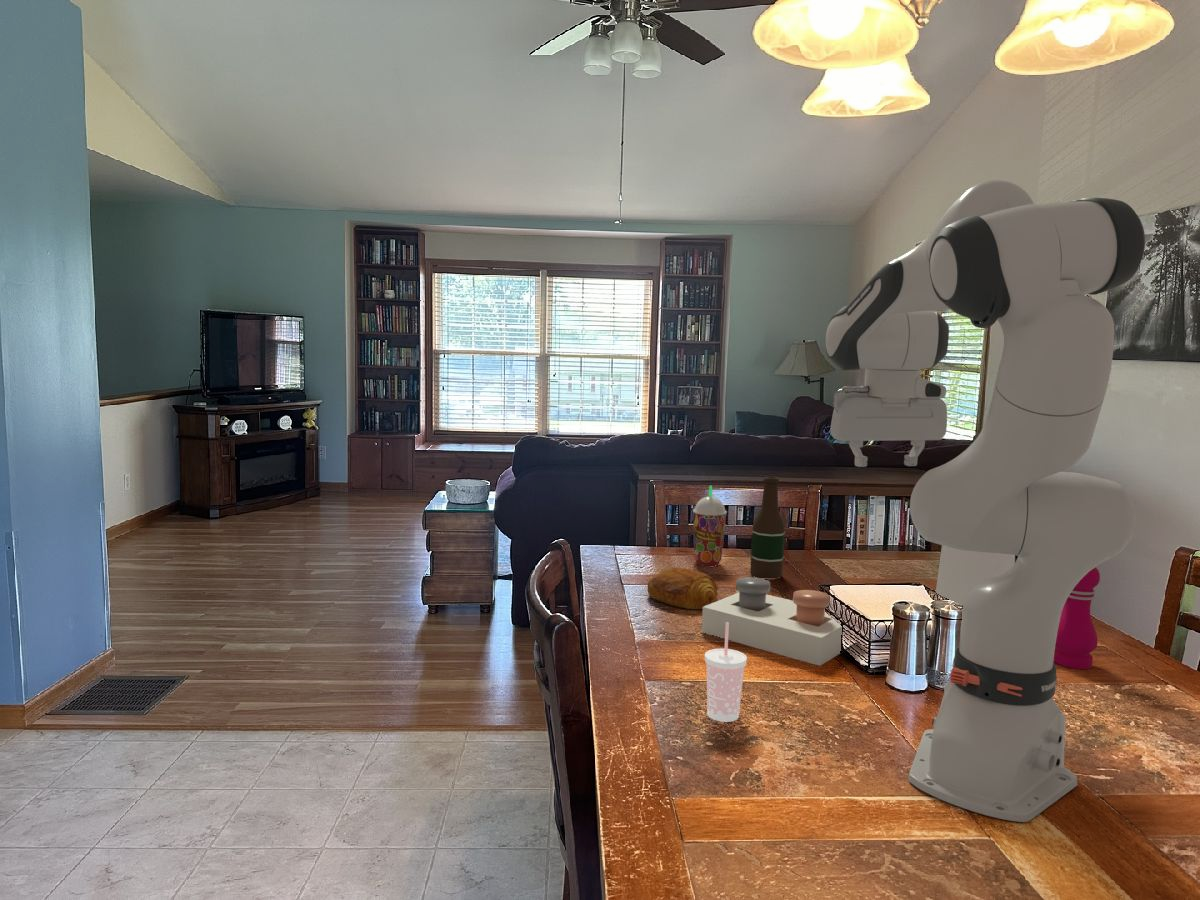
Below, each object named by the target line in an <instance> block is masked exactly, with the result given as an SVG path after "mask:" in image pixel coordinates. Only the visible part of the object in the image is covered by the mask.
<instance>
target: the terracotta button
mask: <svg viewBox="0 0 1200 900" xmlns="http://www.w3.org/2000/svg"><path fill="white" fill-rule="evenodd" d="M830 598H831V596H830V595H829V594H828V593H826V592H824V591H819V590H814V589H800V590H796V591H793V596H792V601H793V602H794V603H795V604H796V605H797V610H796V621H798V622H802V623H806V624H810V625H814V626H817V627H819V626H820V625H822V624H824V617H825V608H826V609H827V608H828V607H829V606H830V601H831V600H830Z"/></svg>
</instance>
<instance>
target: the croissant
mask: <svg viewBox="0 0 1200 900" xmlns="http://www.w3.org/2000/svg"><path fill="white" fill-rule="evenodd" d="M646 589H647V593H648V595H649V597H650V598H651V599H654V600H656V601H658V602H660V601H661V602H660V603H663V602H664V603H663V604H666V603H667V604H666V605H669V604H670V606H673V605H674V607H677V608H683V607H684V608H683V609H686V610H703V607H704V606H706V605H709V604H711V603H714V602H716V601H717V597H718V595H719V594H718V590H719V586H718V583H717V582H716V581H715V580H714V579H713V577H711V576H710V575H708V574H706V573H704V572H702V571H698V570H695V569H691V568H685V567H677V566H676V567H670V568H668V569H664V570H662V571H660V573H658V574H656V575H654V576H653V577H652V578H651V579H650V580H649V581H648V583H647V588H646Z"/></svg>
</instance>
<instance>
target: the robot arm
mask: <svg viewBox="0 0 1200 900" xmlns="http://www.w3.org/2000/svg"><path fill="white" fill-rule="evenodd" d="M1145 249H1146V236H1145V228H1144V225H1143V223H1142V221H1141V219H1140V217H1139V215H1138V214H1137V213H1136V211H1135V210H1134V208H1133V207H1131V206H1130V205H1129V204H1128V203H1127V202H1125V201H1122V200H1118V199H1113V198H1105V197H1083V198H1079V199H1075V200H1074V199H1073V200H1067V201H1058V202H1049V203H1041V204H1035V202H1033V199H1032V197H1031V196H1030V194H1029V193H1028V192H1026V190H1024V189H1023V188H1022V187H1020V186H1019V185H1018V184H1017V185H1016V184H1015V183H1013V182H1010V181H1006V180H996V179H995V180H985V181H982V182H980V183H978V184H975V185H973V186H971V187H970V188H969V189H967V190H966V191H964V193H963V194H961V196H959V197H958V198H957V199H956V200H955V201H954V202H953V203H952V205H951V206H950V207H949V208H948V209H947V210H946V211H945V212H944V214H943V215H942V216H941V218H940V219H939V220H938V222H937V223H936V225H935V226H934V228H933V229H932V230H931V232H930V234H929V235H928V236H927V237H926V238H925V239H924V240H923V241H922V242H921V243H919V244H918V245H917V246H915V247H913V248H912V249H911V250H908V252H906V253H904V254H902V255H900V256H899V257H898V258H895V259H892V260H891V261H889V262H888V263H885V264H884V265H882V267H881V268H880V269H878V270H877V271H876V272H875V273H874V275H873V276H872V277H871V278H870V279H869V280H868V282H867V283H866V284H864V286H863V287H862V288H861V290H860V291H858V293H857V294H856V295H855V296H854V298H853V299H852V300H851V301H850V302H849V303H848V304H847V305H846V306H843V307H841V308H840V309H839V310H837V312H836V313H835V314H834V315H833V316H832V317H831V318H830V320H829V323H828V325H827V328H826V332H825V351H826V356H827V357H828V358H829V359H830V360H831V362H833V364H835V365H836V366H837V367H838V368H840V369H841V370H842V371H855V370H857V371H858V370H859V371H860V370H861V369H863V370H865V371H864V373H865V374H864V386H863V385H858V386H850V385H846V386H843V387H842V388H840V389H838V390H837V391H836V392H835V394H834V396H833V412H832V417H831V423H830V431H829V432H830V435H831V436H832V438H833V439H834V440H837V441H842V442H849V443H848V444H849V445H848V446H849V448H850V449H851V451H852V454H853V455H854V466H855V467H857V468H858V467H859V468H861V467H863V468H864V467H867V466H868V459H869V458H868V456H865V455H863V453H862V449H861V448H863V447H864V442H866V441H867V442H868V441H869V442H870V441H872V442H874V441H875V442H877V441H878V442H880V441H883V442H884V441H885V442H886V441H910V445H911V446H912V447H911V449H910V451H909V453H908V454H904V460H903V464H904V466H907V467H917V465H918V457H919V456H920V455H921V453H922V451H923V450H924V448H925V446H926V445H925V444H926V441H941V440H942V439H943V438H944V437H945V436H946V434H947V428H948V427H947V426H948V409H947V404H946V402H945V400H944V399H943V398H945V397H946V395H947V388H946V387H947V386H944V385H943V384H940V383H937V382H936V381H935V382H934V381H932V380H929V379H926V378H924V377H922V376H920V374H921V370H925V369H927V370H928V369H932V368H933V367H935V366H936V365H938V364H939V363H940V362H941V361H942V360H943V359H944V358H945V357H946V356H947V354H948V347H949V336H950V335H949V334H950V327H949V323H947V321H946V320H945V318H944V317H943V316H942V315H941V314H940V313H939V312H937V311H950V310H951V311H952V312H954V313H955V314H956V315H959V316H962V317H965V318H968V319H969V321H970V322H971V324H972V325H973V326H974V327H976V328H979V329H987V328H990V327H992V326H993V325H994V324H995V323H996V322H997V321H998V323H999V325H1000V327H1001V330H1002V334H1003V346H1002V347H1003V349H1002V353H1001V358H1000V362H999V365H998V369H997V374H996V378H995V383H994V388H993V393H992V397H991V400H990V401H991V402H990V405H989V409H988V411H987V415H986V419H985V420H984V421H985V422H984V424H983V427H982V429H981V431H980V433H978V436H977V437H976V438H975V440H974V441H972V443H971V444H970V445H969V446H968V447H967V448H966V449H965V450H963V451H962V452H961V453H960V454H959V455H957V456H956V457H954V458H953V459H951V460H949V461H947V462H946V463H944V464H941V465H940V466H936V467H934V468H931V469H929V470H927V471H926V472H925V473H924V474H923V475H922V476H921V477H920V478H919V479H918V481H916V484H915V485H914V487H913V489H912V493H911V495H910V499H909V512H910V513H909V514H910V518H911V521H912V524H913V526H914V527H915V529H916V531H917V532H918V534H919V535H920V537H922V539H924V540H925V541H927V542H930V543H934V544H935V545H936V544H937V545H940V546H942V545H943V546H947V547H951V548H955V549H958V550H964V551H976V552H987V553H999V554H1010V555H1015V557H1016V556H1017V558H1016V559H1015V564H1014V565H1013V566H1012V567H1011V568H1010V569H1009V570H1008V571H1007V572H1005V573H1004V574H1002V575H999V576H997V577H993V578H990V579H987V580H985V581H982V582H980V583H978V584H977V585H975V586H974V587H973V588H972V589H970V591H969V592H968V593H967V594H966V596H965V598H964V601H963V609H962V621H961V627H960V634H959V635H960V636H959V645H958V647H957V649H956V650H955V654H954V657H953V660H952V668H951V670H950V675H949V680H948V681H947V682H945V683H944V690H943V691H944V693H943V696H942V700H941V703H940V707H939V709H938V713H937V717H936V716H934V717H933V719H932V721H931V722H932V727H933V729H932V728H930V729H925V730H924V732H923V734H922V737H921V740H920V742H919V745H918V748H917V751H916V754H915V756H914V758H913V762H912V764H911V767H910V770H909V774H908V777H907V779H908V782H909V783H910V784H912V785H913V786H914V787H916V788H917V789H919V790H921V791H923V792H924V793H926V794H928V795H930V796H932V797H934V798H937V799H939V800H941V801H944V802H945V803H946V802H947V803H948V804H951V805H954V806H957V807H960V808H961V809H965V810H967V811H970V812H973V813H974V812H975V813H976V814H977V813H978V814H981V815H984V816H988V817H991V818H995V819H1000V820H1004V821H1005V820H1006V821H1011V822H1017V823H1018V822H1019V823H1027V822H1029V821H1031V820H1033V819H1034V818H1036V817H1037V816H1039V814H1040V813H1042V812H1043V811H1045V810H1046V809H1047V808H1049V807H1050V806H1052V805H1053V804H1054V803H1056V802H1057V801H1058V800H1060V799H1061V798H1062V797H1063V796H1065V795H1066V794H1067V793H1069V792H1070V791H1071V790H1074V789H1075V788H1076V787H1077V786H1078V777H1077V775H1076V774H1075V773H1074V772H1072V771H1071V770H1070V769H1068V768H1066V767H1065V766H1064V764H1065V763H1064V760H1065V747H1066V745H1065V744H1066V743H1065V741H1066V720H1067V718H1066V715H1065V714H1064V713H1063V711H1062V710H1061V709H1060V708H1059V706H1058V705H1057V703H1056V701H1055V700H1054V696H1055V693H1056V685H1057V681H1058V676H1057V666H1056V665H1055V664H1056V663H1055V662H1053V661H1054V652H1055V648H1056V647H1055V644H1056V638H1057V632H1058V626H1059V621H1060V617H1061V613H1062V609H1063V607H1064V604H1065V602H1066V600H1067V598H1068V596H1069V595H1070V593H1071V591H1072V590H1073V589H1074V587H1075V586H1076V585H1077V583H1078V582H1079V581H1080V580H1081V579H1082V578H1083V577H1084V576H1085V575H1086V574H1087V573H1088V572H1089V571H1091V570H1092V569H1093V568H1095V567H1096V568H1097V567H1098V566H1099V565H1100V564H1102V563H1105V562H1106V561H1107V560H1109V559H1112V558H1114V557H1116V556H1118V555H1119V554H1120V553H1121V552H1122V551H1123V550H1124V549H1125V548H1127V546H1128V545H1129V543H1130V542H1131V539H1132V538H1133V536H1134V533H1135V530H1136V525H1137V513H1136V507H1135V503H1134V502H1133V500H1132V498H1131V496H1130V495H1129V493H1128V491H1127V490H1126V489H1125V488H1124V487H1123V486H1122V484H1120V482H1117V481H1115V480H1110V479H1106V478H1102V477H1100V476H1099V477H1098V476H1095V475H1090V474H1085V473H1079V472H1071V471H1065V470H1067V469H1069V468H1070V467H1073V466H1074V465H1075V464H1076V463H1078V461H1080V460H1081V458H1083V456H1084V455H1085V454H1086V453H1087V452H1088V450H1089V449H1090V445H1091V443H1092V440H1093V436H1094V433H1095V431H1096V426H1097V424H1098V420H1099V417H1100V414H1101V410H1102V407H1103V403H1104V401H1105V396H1106V393H1107V390H1108V385H1109V380H1110V375H1111V372H1112V364H1113V357H1114V347H1115V322H1114V319H1113V316H1112V313H1110V311H1109V310H1108V308H1107V307H1106V306H1105V305H1104V304H1103V303H1102V302H1100V301H1098V300H1096V299H1095V298H1093V297H1090V296H1087V295H1092V296H1093V295H1094V296H1095V295H1098V294H1102V293H1104V292H1105V293H1106V292H1108V291H1110V290H1113V289H1116V288H1117V287H1119V286H1122V285H1124V284H1125V283H1127V282H1128V281H1130V280H1131V279H1132V278H1133V277H1134V276H1135V274H1136V273H1137V271H1138V269H1139V267H1140V266H1141V263H1142V260H1143V256H1144V254H1145Z"/></svg>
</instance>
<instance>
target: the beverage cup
mask: <svg viewBox="0 0 1200 900" xmlns="http://www.w3.org/2000/svg"><path fill="white" fill-rule="evenodd" d="M728 632H729V622H726V627H725V639H724V648H714V649H709V650H708V651H706V652H705V653H704V662H705V663H706V706H707V707H706V709H707V712H706V713H707V716H708V717H709V718H710V719H712V720H714V721H717V722H724V723H728V722H730V723H731V722H734V721H737V720H738V719H739V716H740V710H741V709H740V708H741V700H742V699H741V698H742V692H743V691H742V690H743V682H744V672H745V666H747V661H748V658H747V657H748V656H747V655H746V654H745V653H743V652H741V651H739V650H736V649H731V648H729V640H728Z"/></svg>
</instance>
